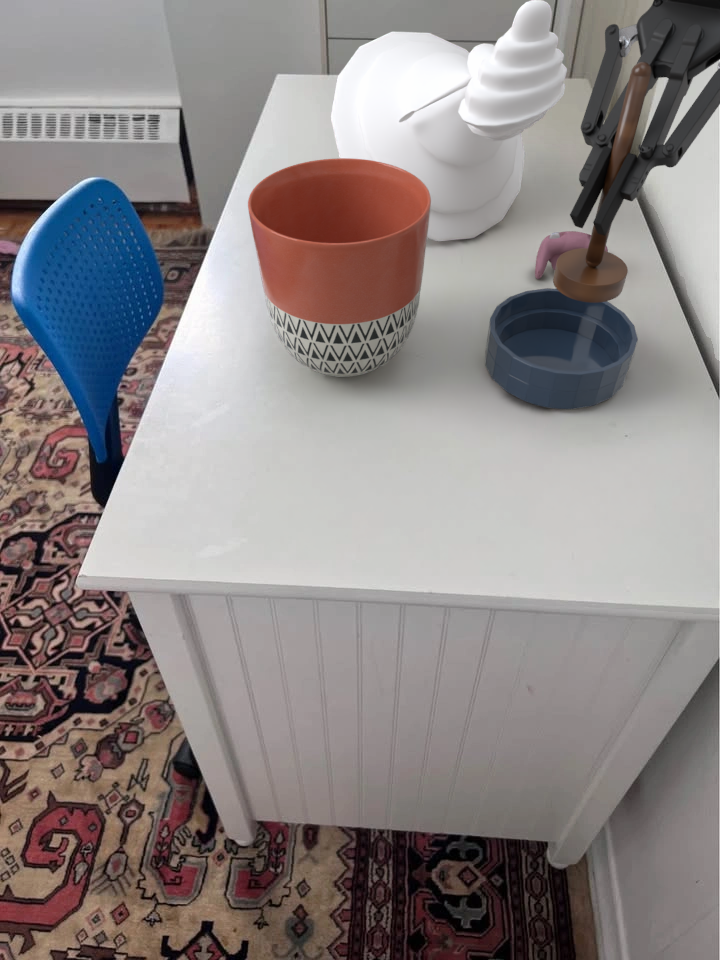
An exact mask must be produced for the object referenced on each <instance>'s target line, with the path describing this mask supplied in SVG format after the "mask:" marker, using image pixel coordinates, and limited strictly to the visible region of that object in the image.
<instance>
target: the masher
mask: <svg viewBox="0 0 720 960" xmlns="http://www.w3.org/2000/svg"><path fill="white" fill-rule="evenodd" d="M650 76H651V67H650V65H649V64H648V63H646V62H640V63H637V62H636V63H635V65H634V66H632V69H631V70H630V74H629V79H628V81H629V82H628V81H627V83H628V86H627V90H626V94H625V99H624V103H623V107H622V111H621V115H620V119H619V123H618V127H617V131H616V135H615V140H614V144H613V148H612V152H611V156H610V160H609V164H608V168H607V172H606V176H605V181H604V185H603V189H602V191H601V193H600V196H599V202H598V206H597V210H596V213H595V217H596V216H597V214H598V212H599V210H600V208H601V206H602V204H603V202H604V200H605V198H606V196H607V194H608V192H609V190H610V188H611V186H612V184H613V182H614V180H615V178H616V176H617V174H618V172H619V170H620V168H621V166H622V164H623V162H624V160H625V158H626V156H627V154H628V153H631V152H632V147H633V143H634V140H635V136H636V133H637V129H638V125H639V121H640V117H641V114H642V110H643V106H644V103H645V98H646V96H647V94H646V91H647V87H648V84H649V80H650ZM645 95H646V96H645ZM612 223H613V222H612ZM612 223H611V225H610V227H609V229H608V231H607V233H606V235H605V236H604V235H601V234H598V233H597V231H596V228H595V226H594V225H593V226H592V230H591V234H590V235H591V238H590V242H589V246H588V248H579V249H573V250H570V251H567V252H565V253H563V254H562V255H561V256H560V257H559V258H558V260H557V263H556V268H555V270H554V272H553V277H552V282H553V285H554V287H555V289H557V290H558V291H559V292H561V293H562V294H564V295H565V296H567V297H569V298H572V299H575V300H578V301H582V302H591V303H598V302H606V301H607V302H609V301H612V300H614V299H616V298H618V297H619V296H620V295H621V294H622V292H623V290H624V286H625V283H626V280H627V277H628V272H629V270H628V269H629V268H628V266H627V264H626V262H625V261H624V260H623V259H622V258H621V257H619V256H617V255H616V254H614V253H612V252H609V251H608V252H607V251H605V247H606V246H607V243H608V239H609V235H610V231H611V228H612Z"/></svg>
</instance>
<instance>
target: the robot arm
mask: <svg viewBox="0 0 720 960" xmlns="http://www.w3.org/2000/svg"><path fill="white" fill-rule="evenodd" d="M636 42H637V43H638V48H639V54H640V57H639V58H638V60H637V62H636V64H637V63H640V62H646V63H648V64H649V65H650V67H651V76H650V80H649V84H648V87H647V91H646V95H645V97H646V96H647V95H648V93H649V92H650V90H652V89H653V88H654V86H655V85H656V83H657V81H658V80H659V79H662V78H666V79H668V80H667V83H666V85H665V87H664V90H663V92H662V94H661V97H660V99H659V101H658V104H657V106H656V108H655V111H654V113H653V116H652V118H651V121H650V123H649V125H648V127H647V130H646V133H645V134H644V137H643V140H642V142H641V144H638V145H637V148H638V149H637V150H638V154H635V153H631V152H630V153H628V154H627V156H626V158H625V160H624V162H623V164H622V166H621V168H620V170H619V172H618V174H617V176H616V178H615V180H614V182H613V184H612V186H611V188H610V190H609V192H608V194H607V196H606V198H605V200H604V202H603V204H602V206H601V208H600V210H599V212H598V214H597V216H596V215H595V218H594V220H593V222H592V223H593V224H592V225H593V226H595V228H596V231H597V233H598V234H601V235H604V236H605V235H606V233H607V231H608V229H609V227H610V225H611V226H612V224H611V223H613V221H614V220H615V217H616V216H617V214H618V212H619V210H620V208H621V205H622V204H623V201H624V200H626V201H628V202H633V201H634V200H635V199H637V197H638V195H639V193H640V191H641V190H642V188H643V185H644V184H645V182H646V180H647V178H648V176H649V174H650V172H651V171H652V170H653V169H655V168H656V167H661V166H662V167H663V166H665V167H667V168H674V167H676V166H677V165H678V164H679V162H680V161H681V160H682V158H683V157H684V155H685V154H686V152H687V151H688V150H689V148H690V147H691V145H692V144H693V142H694V141H695V140H696V138H697V137H698V136H699V134H700V133H701V131H702V130H703V129H704V127H705V126H706V124H707V123H708V122H709V120H710V119H711V117H712V116H713V115H714V113H715V112H716V110H717V109H718V107H719V106H720V0H653V1H652V3H651V6H650V7H649V8H648V9H647V10H646V11H645V12H644V13H643V14H641V16H640V17H639V18H638V20H637V22H636V23H635V24H632V25H629V26H626V27H621V28H619V25H618V24H616V23H612V24H609V25H608V26H607V27H606V28H605V31H604V45H605V46H604V47H605V49H604V50H605V51H604V54H603V57H602V60H601V63H600V66H599V69H598V72H597V76H596V78H595V81H594V84H593V87H592V90H591V94H590V97H589V100H588V102H587V105H586V109H585V113H584V114H583V118H582V121H581V124H580V131H581V134H582V136H583V140H584V142H585V144H586V145H587V146H590V147H592V148H591V150H590V152H589V154H588V156H587V158H586V160H585V162H584V164H583V166H582V168H581V170H580V173H579V176H578V181H579V183H580V185H581V187H583V188H582V189H581V191H580V193H579V195H578V198H577V199H576V201H575V204H574V206H573V208H572V209H571V211H570V213H569V217H570V219H571V221H572V224H573V225H574V227H577V228H578V229H579V228H580V229H583V228H584V226H585V224H586V223H587V221H588V219H589V216H590V214H591V213H592V210H593V208H594V206H595V204H596V203H597V201H598V199H599V198H600V196H601V193H602V189H603V185H604V181H605V176H606V172H607V168H608V164H609V160H610V156H611V152H612V148H613V144H614V140H615V135H616V131H617V127H618V123H619V119H620V115H621V111H622V107H623V103H624V99H625V94H626V90H627V86H628V82H629V80H628V81H627V83H626V85H625V86H624V88H623V89H622V92H621V93H620V94H619V97H618V98H617V100H616V102H615V104H614V105H613V107H612V109H611V110H610V112H609V114H608V110H609V107H610V104H611V101H612V100H613V99H612V98H613V95H614V92H615V89H616V86H617V84H618V80H619V77H620V74H621V71H622V67H623V61H624V60H623V58H626V57H627V56H628V55H629V53H630V52H631V49H632V46H633V45H634V43H636ZM716 63H717V70H716V71H715V72H714V73H713V74H712V76H711V77H710V79H709V80H708V81H707V83H706V85H705V86H704V88H703V89H702V90H701V92H700V93H699V95H698V96H697V98H696V99H695V100H694V102H693V103H692V104H691V106H690V107H689V108H688V110H687V111H686V113H685V114H684V115H683V117H682V118H681V120H680V122H679V123H678V125H676V127H675V128H674V130H673V132H672V133H671V134H670V136H669V133H670V130H671V129H672V128H671V127H672V125H673V123H674V120H675V118H676V116H677V113H678V112H679V109H680V107H681V104H682V103H683V99H684V97H686V95H687V94H688V91H689V89H690V87H691V84H692V82H693V79H694V78H695V77H698V75H699V74H701V73H703V72H704V71H705V70H707V69H709V68H710V67H712V66H713V65H715V64H716ZM607 114H608V116H607ZM606 116H607V117H606ZM668 136H669V137H668ZM667 137H668V139H667Z"/></svg>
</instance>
